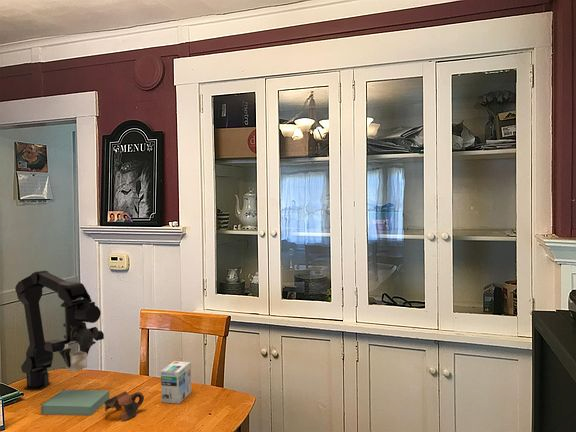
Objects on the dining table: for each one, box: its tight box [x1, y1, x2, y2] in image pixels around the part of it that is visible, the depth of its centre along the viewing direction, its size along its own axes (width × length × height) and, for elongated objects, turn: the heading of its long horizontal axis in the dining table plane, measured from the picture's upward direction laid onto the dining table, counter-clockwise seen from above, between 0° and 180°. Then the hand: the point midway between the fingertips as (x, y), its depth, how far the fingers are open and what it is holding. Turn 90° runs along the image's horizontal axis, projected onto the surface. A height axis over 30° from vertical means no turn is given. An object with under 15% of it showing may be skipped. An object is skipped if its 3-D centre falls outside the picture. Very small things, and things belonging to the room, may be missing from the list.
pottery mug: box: [104, 390, 145, 422], centre depth 157 cm, size 12×10×8 cm
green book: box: [40, 388, 110, 416], centre depth 163 cm, size 16×13×3 cm
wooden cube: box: [65, 350, 88, 372], centre depth 169 cm, size 5×5×5 cm
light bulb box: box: [160, 360, 192, 404], centre depth 169 cm, size 11×7×11 cm, turn 168°
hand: (76, 365), depth 169 cm, fingers closed on wooden cube, 5 cm apart
